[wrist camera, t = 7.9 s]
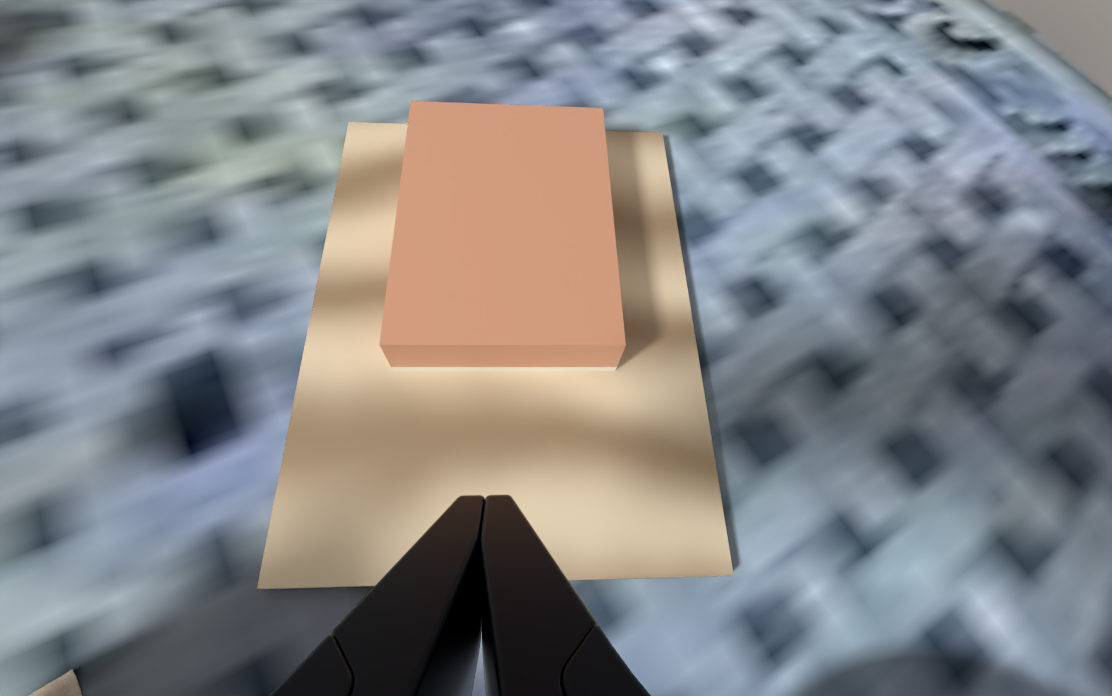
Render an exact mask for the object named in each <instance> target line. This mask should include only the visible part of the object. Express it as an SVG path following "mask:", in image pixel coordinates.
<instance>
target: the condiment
mask: <svg viewBox="0 0 1112 696" xmlns="http://www.w3.org/2000/svg"><path fill="white" fill-rule="evenodd" d="M29 696H82V693H81V689H80V687H79V684H78V680H77V678H76V676H75V674H74V672H73V669H72V670H70V671H69V672H67V673H65V674H64V675H62V676H61V677H59V678H57V679H55V680H54V681H52V682H50V683H49V684H47V685H45V686H44V687H42V688H40V689H38V690H37V691H35V692H33V693H32V694H31V695H29Z"/></svg>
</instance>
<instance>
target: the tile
mask: <svg viewBox="0 0 1112 696" xmlns="http://www.w3.org/2000/svg"><path fill="white" fill-rule="evenodd" d="M379 345H380V347H381V349H382V351H383V353H384V355H385V357H386V359H387V361H388V362H389V364H390V366H391V368H392V370H393V371H615V370H616V368H617V366H618V363H619V361H620V358H621V356H622V354H623V351H624V349H625V346H626V342H625V332H624V321H623V311H622V301H621V290H620V280H619V269H618V259H617V249H616V238H615V228H614V217H613V207H612V197H611V186H610V176H609V165H608V155H607V145H606V134H605V124H604V113H603V108H584V107H557V106H529V105H502V104H474V103H447V102H419V101H411V103H410V111H409V118H408V126H407V134H406V142H405V149H404V157H403V165H402V173H401V180H400V188H399V196H398V204H397V211H396V219H395V227H394V235H393V242H392V250H391V258H390V266H389V273H388V281H387V289H386V296H385V304H384V312H383V320H382V327H381V335H380V343H379Z"/></svg>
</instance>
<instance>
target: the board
mask: <svg viewBox="0 0 1112 696" xmlns="http://www.w3.org/2000/svg"><path fill="white" fill-rule="evenodd" d="M407 126H408V124H388V123H357V122H349V124H348V129H347V134H346V139H345V144H344V149H343V154H342V159H341V164H340V169H339V175H338V180H337V185H336V190H335V195H334V200H333V205H332V210H331V215H330V220H329V225H328V230H327V235H326V240H325V246H324V251H323V256H322V261H321V266H320V271H319V276H318V281H317V286H316V291H315V296H314V301H313V306H312V312H311V317H310V322H309V327H308V332H307V337H306V342H305V347H304V352H303V357H302V362H301V367H300V372H299V378H298V383H297V388H296V393H295V398H294V403H293V408H292V413H291V418H290V423H289V428H288V433H287V438H286V444H285V449H284V454H283V459H282V464H281V469H280V474H279V479H278V484H277V489H276V494H275V499H274V504H273V509H272V515H271V520H270V525H269V530H268V535H267V540H266V545H265V550H264V555H263V560H262V565H261V570H260V575H259V581H258V586H257V589H291V588H326V587H360V586H375V585H376V584H377V583H378V582H379V581H380V580H381V579H382V578H383V577H384V576H385V575H386V574H387V572H388V571H389V570H390V569H391V568H392V567H393V566H394V565H395V564H396V563H397V562H398V561H399V560H400V559H401V558H402V556H403V555H404V554H405V553H406V552H407V551H408V550H409V549H410V548H411V547H412V546H413V545H414V544H415V543H416V542H417V541H418V539H419V538H420V537H421V536H422V535H423V534H424V533H425V532H426V531H427V530H428V529H429V528H430V527H431V526H432V525H433V523H434V522H435V521H436V520H437V519H438V518H439V517H440V516H441V515H442V514H443V513H444V512H445V511H446V510H447V509H448V507H449V506H450V505H451V504H452V503H453V502H454V501H455V500H456V499H457V498H458V497H459V496H462V495H482V496H484V498H486V497H487V496H488V495H510V496H511V497H512V498H513V499H514V501H515V502H516V504H517V505H518V507H519V508H520V510H521V511H522V513H523V514H524V516H525V517H526V519H527V520H528V522H529V523H530V525H531V526H532V528H533V529H534V530H535V532H536V533H537V535H538V536H539V538H540V539H541V541H542V542H543V544H544V545H545V547H546V548H547V550H548V551H549V553H550V554H551V556H552V557H553V559H554V560H555V562H556V563H557V565H558V566H559V568H560V569H561V571H562V572H563V574H564V575H565V576H566V578H567V579H568V581H569V580H604V579H639V578H674V577H709V576H731V575H734V574H733V568H732V562H731V555H730V549H729V543H728V537H727V531H726V524H725V518H724V512H723V506H722V500H721V493H720V487H719V481H718V475H717V468H716V462H715V456H714V450H713V444H712V437H711V431H710V425H709V419H708V413H707V406H706V400H705V394H704V388H703V381H702V375H701V369H700V363H699V357H698V350H697V344H696V338H695V332H694V326H693V319H692V313H691V307H690V301H689V294H688V288H687V282H686V276H685V270H684V263H683V257H682V251H681V245H680V239H679V232H678V226H677V220H676V214H675V207H674V201H673V195H672V189H671V183H670V176H669V170H668V164H667V158H666V152H665V145H664V139H663V133H658V132H628V131H605V134H606V145H607V155H608V165H609V176H610V186H611V197H612V207H613V217H614V228H615V238H616V249H617V259H618V269H619V280H620V290H621V301H622V311H623V321H624V332H625V342H626V346H625V349H624V351H623V354H622V356H621V358H620V361H619V363H618V366H617V368H616V370H615V371H393V370H392V368H391V366H390V364H389V362H388V361H387V359H386V357H385V355H384V353H383V351H382V349H381V347H380V345H379V343H380V335H381V327H382V320H383V312H384V304H385V296H386V289H387V281H388V273H389V266H390V258H391V250H392V242H393V235H394V227H395V219H396V211H397V204H398V196H399V188H400V180H401V173H402V165H403V157H404V149H405V142H406V134H407Z"/></svg>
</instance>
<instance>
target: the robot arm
mask: <svg viewBox="0 0 1112 696" xmlns="http://www.w3.org/2000/svg"><path fill="white" fill-rule="evenodd" d="M481 631H482V650H483V666H484V680H485V693H486V696H651V695H650V694H649V693H648V692H647V690H646V689H645V688H644V687H643V686H642V684H641V683H640V682H639V681H638V680H637V678H636V677H635V676H634V675H633V673H632V672H631V671H630V669H629V668H628V667H627V665H626V664H625V662H624V661H623V660H622V658H621V657H620V656H619V654H618V653H617V651H616V650H615V649H614V647H613V646H612V644H611V643H610V641H609V640H608V638H607V637H606V635H605V634H604V632H603V631H602V629H601V628H600V627H599V626H597V623H596V621H595V620H594V618H593V617H592V615H591V614H590V612H589V611H588V609H587V608H586V606H585V605H584V603H583V602H582V600H581V599H580V597H579V596H578V594H577V593H576V591H575V590H574V588H573V587H572V585H571V584H570V582H569V581H568V579H567V578H566V576H565V575H564V574H563V572H562V571H561V569H560V568H559V566H558V565H557V563H556V562H555V560H554V559H553V557H552V556H551V554H550V553H549V551H548V550H547V548H546V547H545V545H544V544H543V542H542V541H541V539H540V538H539V536H538V535H537V533H536V532H535V530H534V529H533V528H532V526H531V525H530V523H529V522H528V520H527V519H526V517H525V516H524V514H523V513H522V511H521V510H520V508H519V507H518V505H517V504H516V502H515V501H514V499H513V498H512V497H511V496H510V495H488V496H487V497H486V498H484V496H482V495H462V496H459V497H458V498H457V499H456V500H455V501H454V502H453V503H452V504H451V505H450V506H449V507H448V509H447V510H446V511H445V512H444V513H443V514H442V515H441V516H440V517H439V518H438V519H437V520H436V521H435V522H434V523H433V525H432V526H431V527H430V528H429V529H428V530H427V531H426V532H425V533H424V534H423V535H422V536H421V537H420V538H419V539H418V541H417V542H416V543H415V544H414V545H413V546H412V547H411V548H410V549H409V550H408V551H407V552H406V553H405V554H404V555H403V556H402V558H401V559H400V560H399V561H398V562H397V563H396V564H395V565H394V566H393V567H392V568H391V569H390V570H389V571H388V572H387V574H386V575H385V576H384V577H383V578H382V579H381V580H380V581H379V582H378V583H377V584H376V585H375V586H374V587H373V588H372V590H371V591H370V592H369V593H368V594H367V595H366V596H365V597H364V598H363V599H362V600H361V601H360V602H359V603H358V604H357V605H356V607H355V608H354V609H353V610H352V611H351V612H350V613H349V614H348V615H347V616H346V617H345V618H344V619H343V620H342V621H341V623H340V624H339V625H338V626H337V627H336V628H335V629H334V630H333V632H332V635H328V636H327V637H326V638H325V639H324V640H323V641H322V642H321V643H320V645H319V646H318V647H317V648H316V649H315V650H314V651H313V652H312V653H311V654H310V655H309V656H308V657H307V658H306V659H305V660H304V661H303V662H302V663H301V664H300V665H299V666H298V667H297V668H296V669H295V670H294V671H293V672H292V673H291V674H290V675H289V676H288V677H287V678H286V680H285V681H284V682H283V683H282V684H281V685H280V686H279V687H278V688H277V689H275V690H274V691H273V692H272V693H271V694H270V695H269V696H472V690H473V685H474V679H475V673H476V667H477V661H478V656H479V649H480V642H481Z"/></svg>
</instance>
